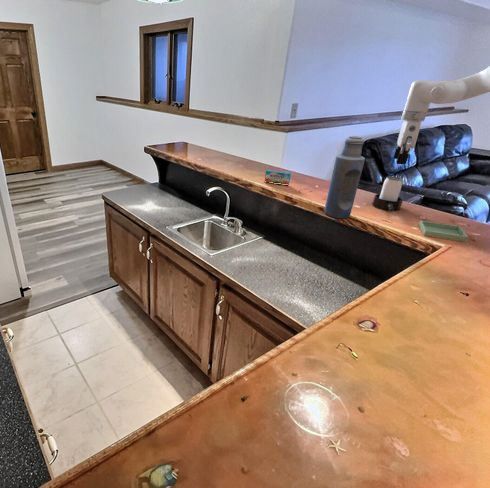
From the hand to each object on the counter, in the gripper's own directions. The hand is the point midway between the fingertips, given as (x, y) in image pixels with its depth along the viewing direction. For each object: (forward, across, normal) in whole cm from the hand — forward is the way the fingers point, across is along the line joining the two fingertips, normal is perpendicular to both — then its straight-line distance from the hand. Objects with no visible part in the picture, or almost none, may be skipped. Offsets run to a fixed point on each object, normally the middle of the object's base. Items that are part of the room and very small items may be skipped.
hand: (399, 161), depth 139 cm
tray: (+19, -23, -15) cm, 34 cm away
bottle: (+19, -19, +19) cm, 33 cm away
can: (+19, 0, 0) cm, 19 cm away
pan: (+19, -5, 0) cm, 20 cm away
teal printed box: (+20, +13, +47) cm, 52 cm away
